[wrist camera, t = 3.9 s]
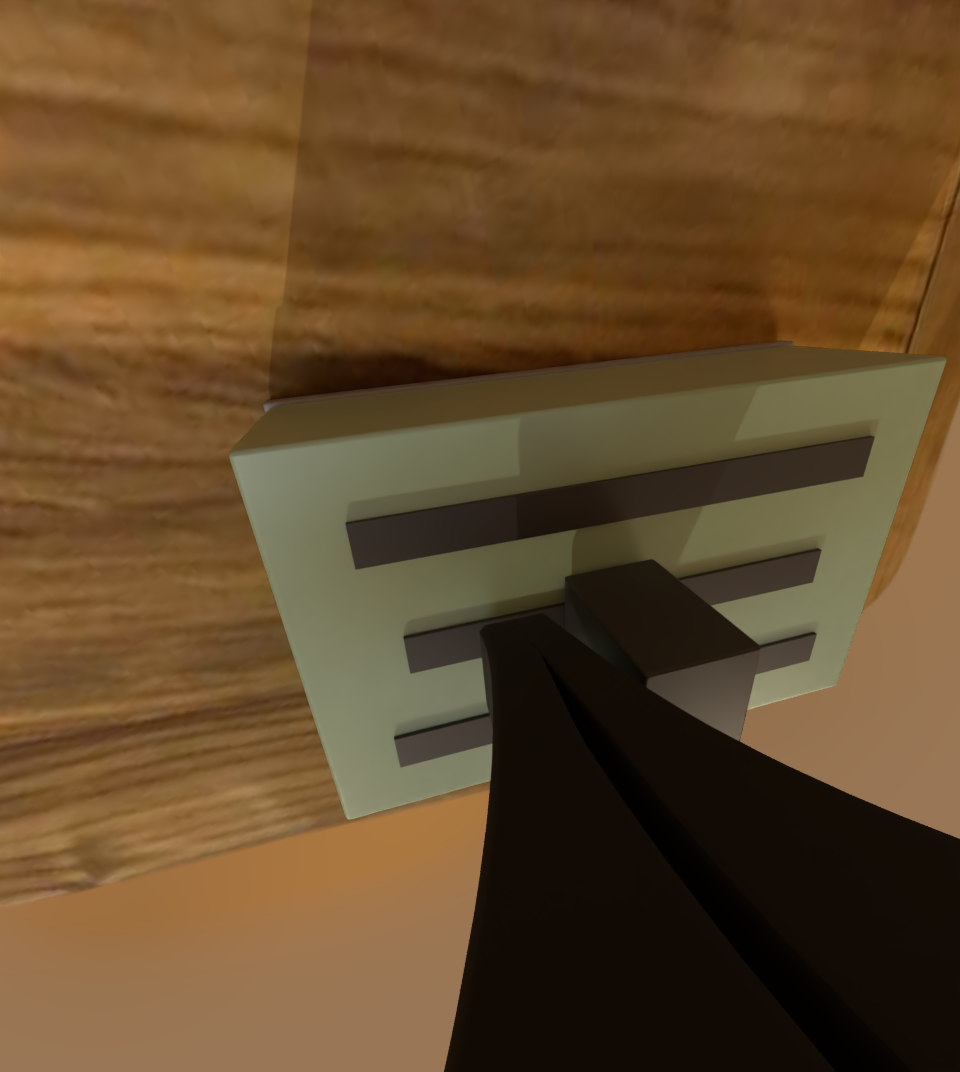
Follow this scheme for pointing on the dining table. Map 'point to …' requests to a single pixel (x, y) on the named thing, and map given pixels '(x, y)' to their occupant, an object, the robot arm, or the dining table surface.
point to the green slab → (566, 526)
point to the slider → (665, 640)
